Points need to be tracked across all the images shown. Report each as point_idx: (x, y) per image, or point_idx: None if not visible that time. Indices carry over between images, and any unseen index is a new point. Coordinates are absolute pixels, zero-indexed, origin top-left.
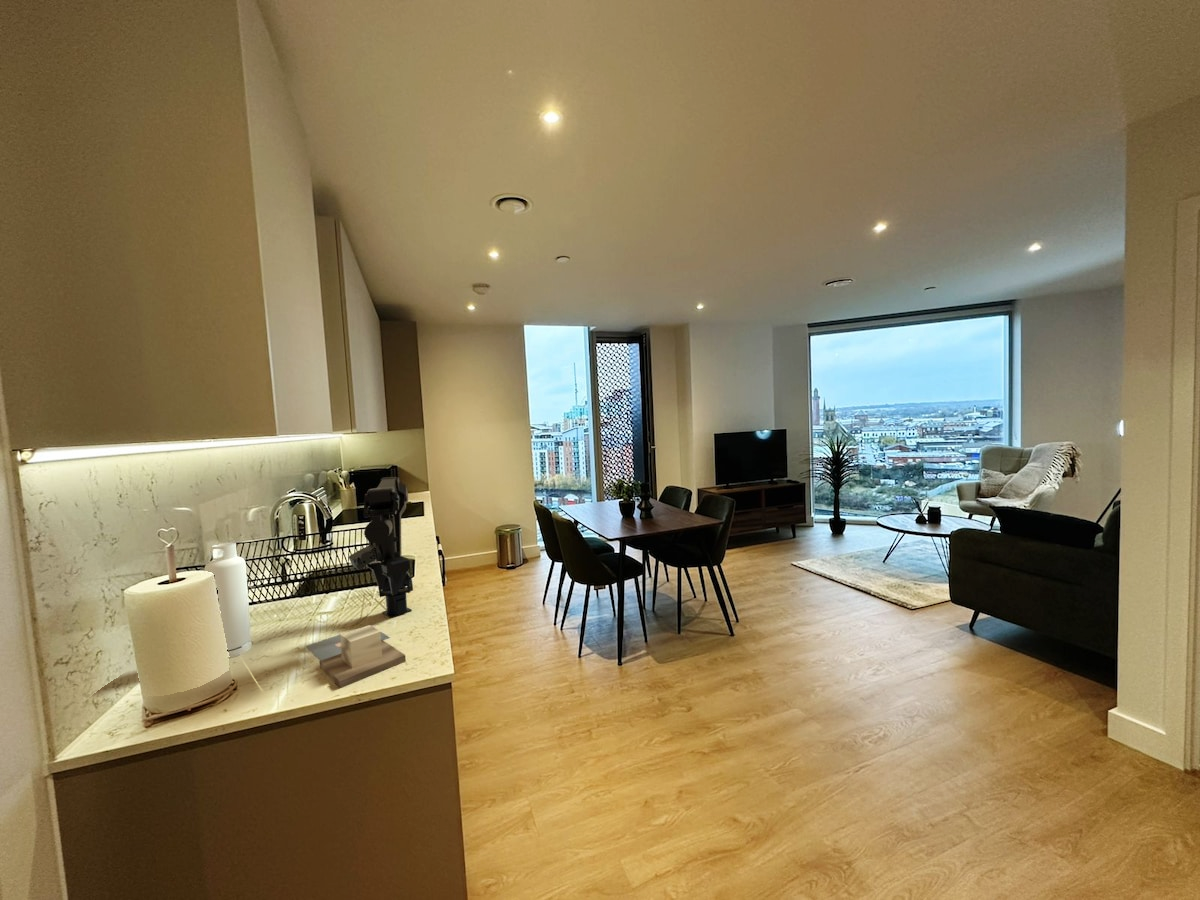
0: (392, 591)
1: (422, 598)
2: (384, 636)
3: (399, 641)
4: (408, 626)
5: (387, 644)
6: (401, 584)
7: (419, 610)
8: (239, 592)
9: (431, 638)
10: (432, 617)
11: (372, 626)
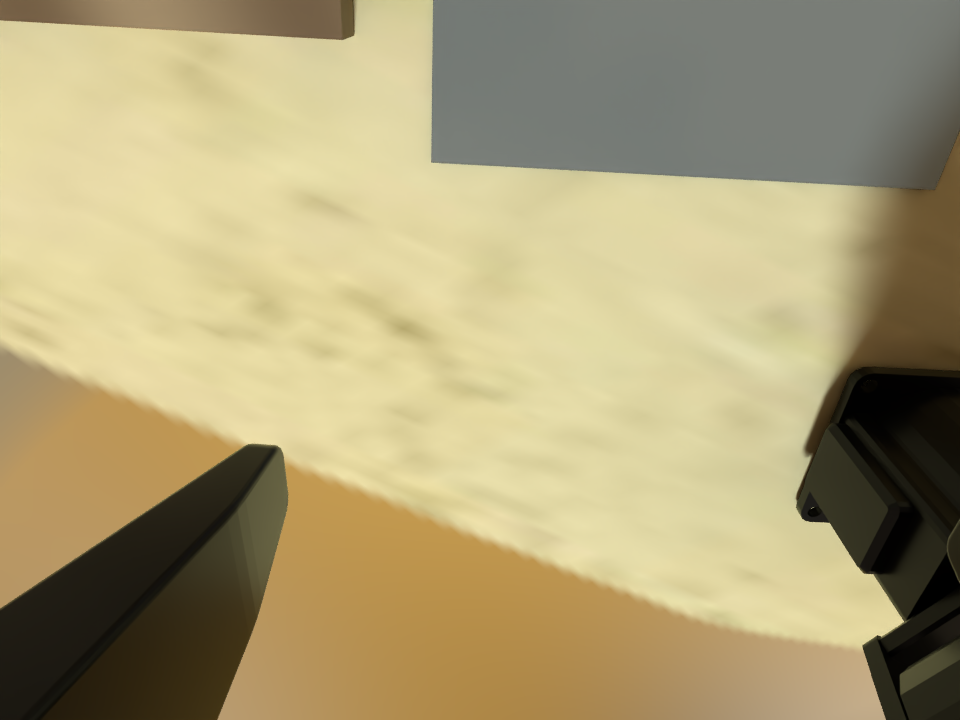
0: (173, 493)
1: None
2: (509, 141)
3: (296, 180)
4: (543, 368)
5: (142, 14)
6: (934, 708)
7: (757, 543)
8: None
9: (149, 354)
10: (534, 528)
11: (866, 185)
